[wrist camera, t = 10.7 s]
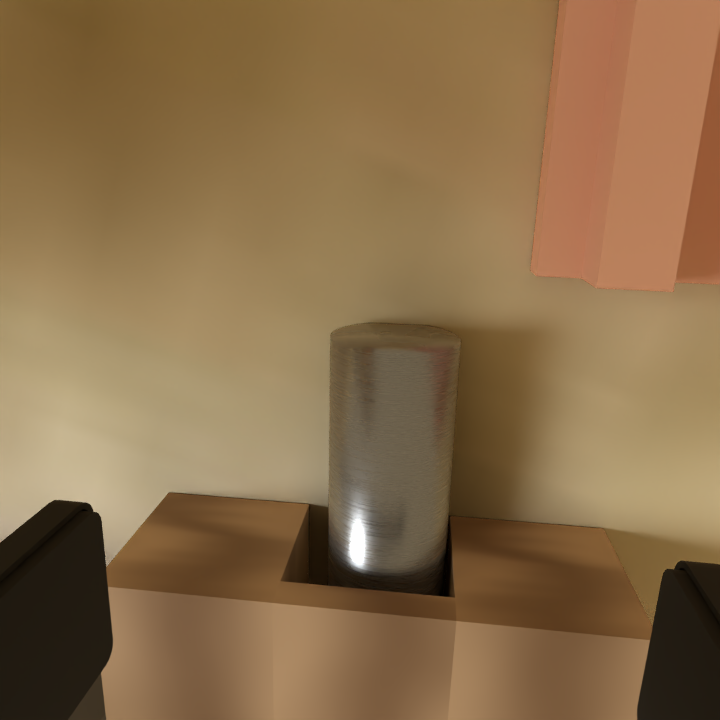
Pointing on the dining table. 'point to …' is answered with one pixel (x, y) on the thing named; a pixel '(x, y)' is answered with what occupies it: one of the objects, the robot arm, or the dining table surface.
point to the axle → (391, 455)
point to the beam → (366, 625)
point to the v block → (632, 146)
